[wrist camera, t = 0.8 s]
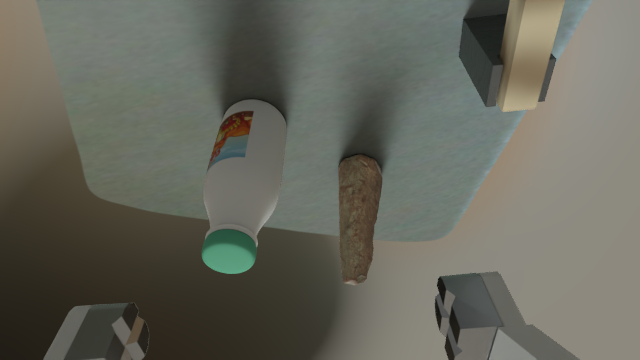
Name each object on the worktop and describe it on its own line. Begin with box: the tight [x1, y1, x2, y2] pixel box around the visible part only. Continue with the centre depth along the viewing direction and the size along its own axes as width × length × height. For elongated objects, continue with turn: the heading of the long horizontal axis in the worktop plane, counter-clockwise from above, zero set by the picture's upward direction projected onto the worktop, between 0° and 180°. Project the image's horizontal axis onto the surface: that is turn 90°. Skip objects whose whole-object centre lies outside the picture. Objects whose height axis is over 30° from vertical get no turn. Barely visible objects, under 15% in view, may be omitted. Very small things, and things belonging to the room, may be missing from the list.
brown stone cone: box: [338, 154, 382, 285], centre depth 49 cm, size 6×18×6 cm
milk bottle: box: [202, 99, 287, 274], centre depth 43 cm, size 8×8×20 cm
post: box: [459, 14, 556, 107], centre depth 39 cm, size 4×5×10 cm
